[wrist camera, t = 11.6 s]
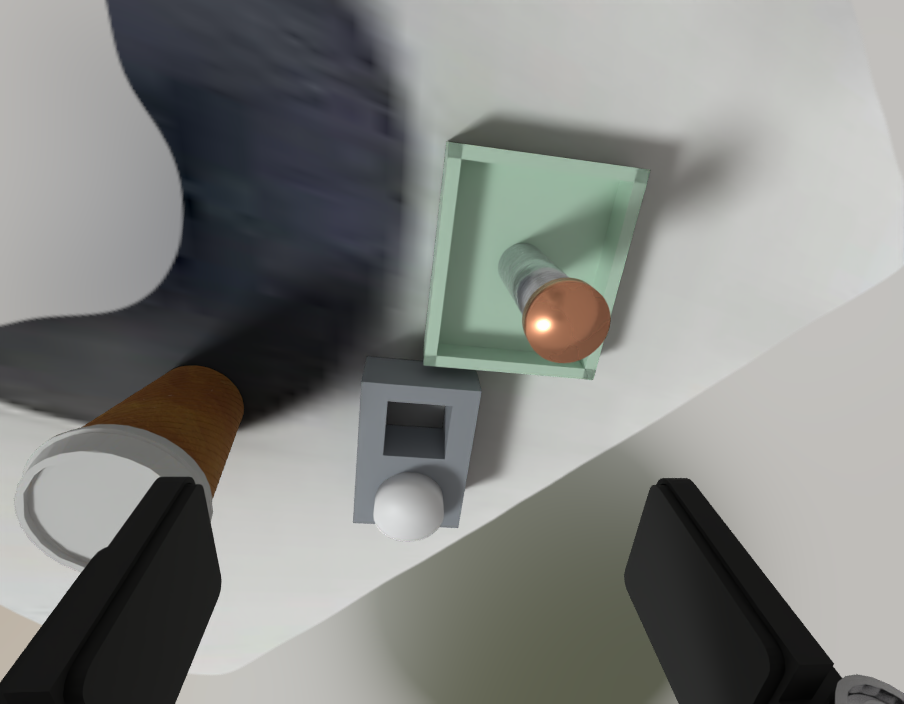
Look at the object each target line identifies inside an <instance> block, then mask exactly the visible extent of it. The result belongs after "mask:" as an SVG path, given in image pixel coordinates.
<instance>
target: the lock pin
mask: <svg viewBox="0 0 904 704" xmlns="http://www.w3.org/2000/svg"><path fill="white" fill-rule="evenodd" d="M498 272H499V276H500V278H501V280H502V281H503V283H504V285H505V286H506V288H507V290H508V291H509V293H510V295H511V296H512V298H513V300H514V302H515V303H516V305H517V307H518V308H519V310H520V312H521V313H522V326H523V331H524V334H525V336H526V338H527V340H528V341H529V343H530V345H531V347H532V348H533V350H534V351H535V352H536V353H537V354H538V355H539V356H541V357H542V358H544V359H546V360H548V361H551V362H555V363H571V362H576V361H579V360H581V359H583V358H586V357H587V356H589V355H590V354H592V353H593V352H594V351H595V350H596V349H597V348H599V346H600V345H601V344H602V343H603V341H604V339H605V338H606V336H607V333H608V331H609V327H610V319H611V317H610V310H609V307H608V304H607V302H606V300H605V299H604V297H603V296H602V295H601V294H600V293H599V292H598V291H597V290H596V289H594V288H593V287H592V286H591V285H590V284H588V283H587V282H585V281H583V280H580V279H576V278H570V277H568V276H567V275H566V274H565V273H564V272H563V271H562V270H561V269H560V268H559V267H558V266H557V265H555V264H554V263H553V262H552V261H551V260H550V259H549V258H548V257H547V256H546V255H545V254H544V253H543V252H541V251H540V250H539V249H538V248H537V247H536V246H534V245H532V244H529V243H518V244H514V245H512V246H510V247H509V248H508V249H506V250H505V251H504V253H503V254H502V256H501V257H500V260H499V264H498Z"/></svg>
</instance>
